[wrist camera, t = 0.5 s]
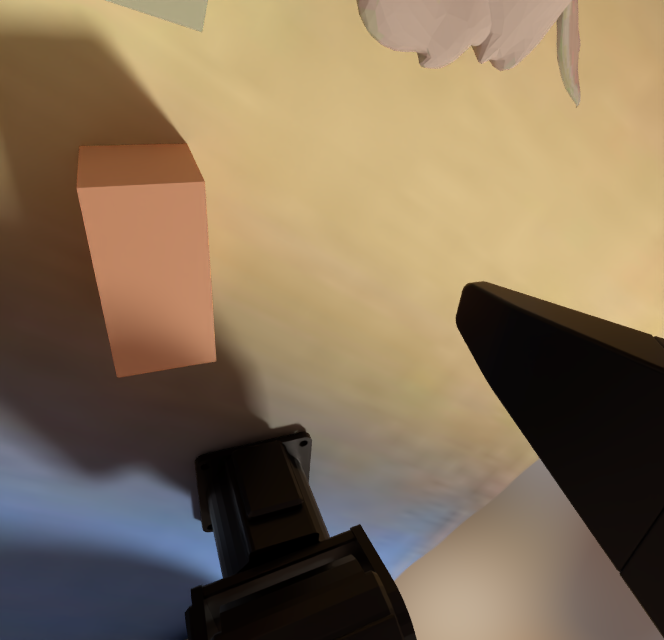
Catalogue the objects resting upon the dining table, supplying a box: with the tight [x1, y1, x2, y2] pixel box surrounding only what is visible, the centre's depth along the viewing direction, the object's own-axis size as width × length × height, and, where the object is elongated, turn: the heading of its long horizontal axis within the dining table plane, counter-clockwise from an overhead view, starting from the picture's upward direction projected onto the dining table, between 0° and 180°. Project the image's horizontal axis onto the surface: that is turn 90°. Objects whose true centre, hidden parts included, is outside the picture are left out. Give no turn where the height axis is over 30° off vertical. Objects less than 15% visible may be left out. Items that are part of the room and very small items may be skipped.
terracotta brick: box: [77, 143, 216, 378], centre depth 18 cm, size 7×4×4 cm, turn 174°
